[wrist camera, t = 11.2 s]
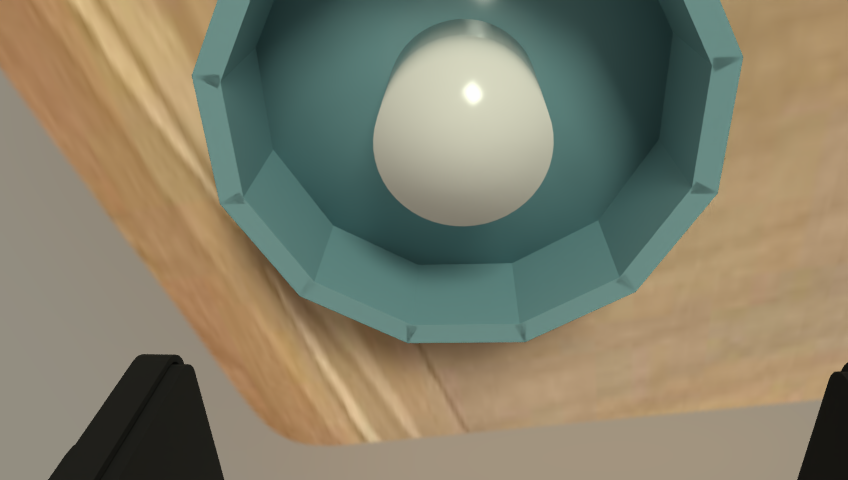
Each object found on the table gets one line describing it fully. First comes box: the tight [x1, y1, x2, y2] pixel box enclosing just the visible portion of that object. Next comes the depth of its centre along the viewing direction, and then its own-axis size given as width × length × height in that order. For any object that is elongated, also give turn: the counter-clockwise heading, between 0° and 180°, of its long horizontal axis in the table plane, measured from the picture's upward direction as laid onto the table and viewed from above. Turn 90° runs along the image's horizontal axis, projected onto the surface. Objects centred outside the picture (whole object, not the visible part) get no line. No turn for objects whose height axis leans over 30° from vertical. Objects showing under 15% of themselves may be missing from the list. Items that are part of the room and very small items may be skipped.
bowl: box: [192, 0, 743, 343], centre depth 22 cm, size 16×16×5 cm
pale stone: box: [373, 19, 554, 226], centre depth 22 cm, size 5×5×5 cm
